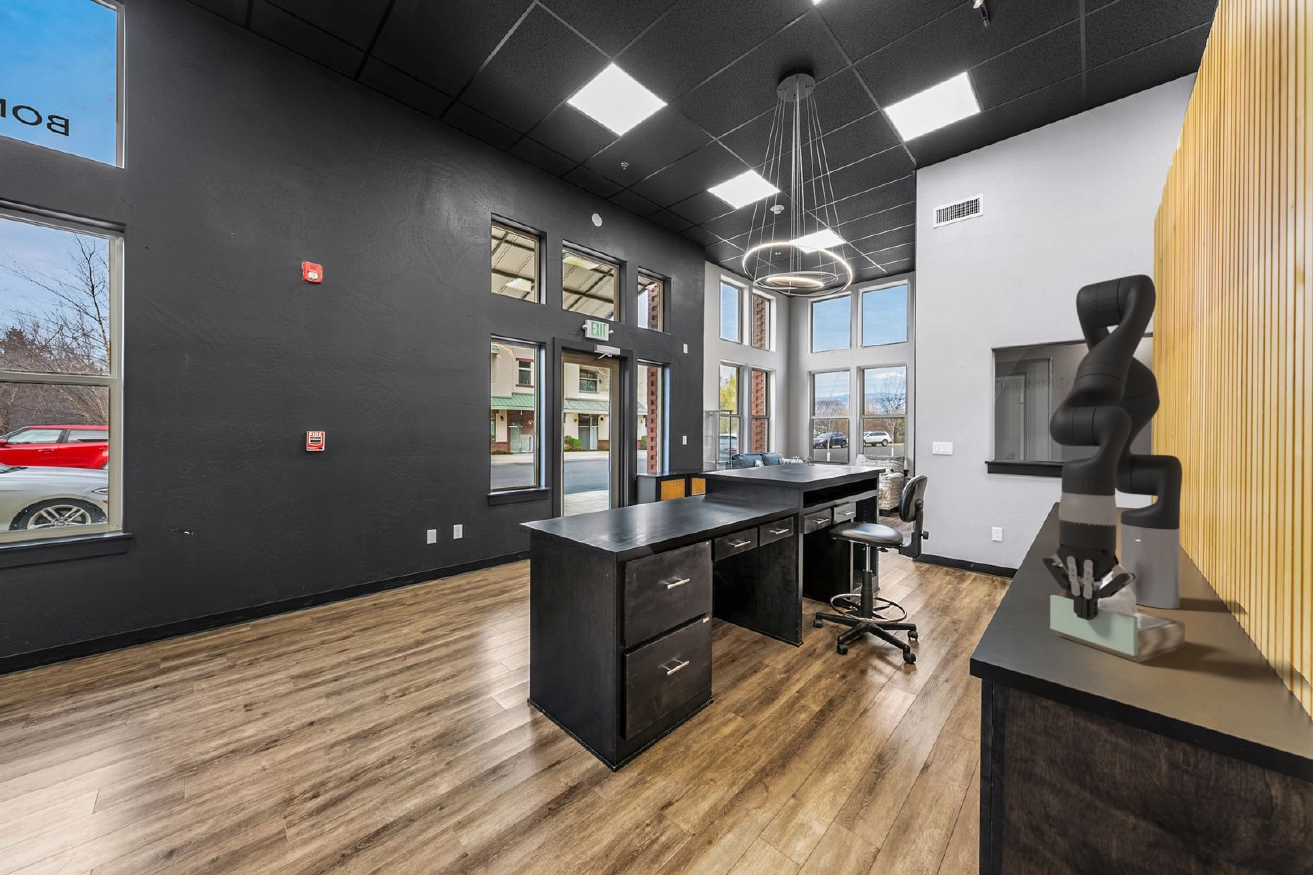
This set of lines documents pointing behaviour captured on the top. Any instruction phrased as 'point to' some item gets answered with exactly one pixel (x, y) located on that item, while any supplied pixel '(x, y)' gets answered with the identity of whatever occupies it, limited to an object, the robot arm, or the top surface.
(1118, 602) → the white rounded figure
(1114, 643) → the drawer
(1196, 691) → the top surface
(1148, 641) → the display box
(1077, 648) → the top surface
